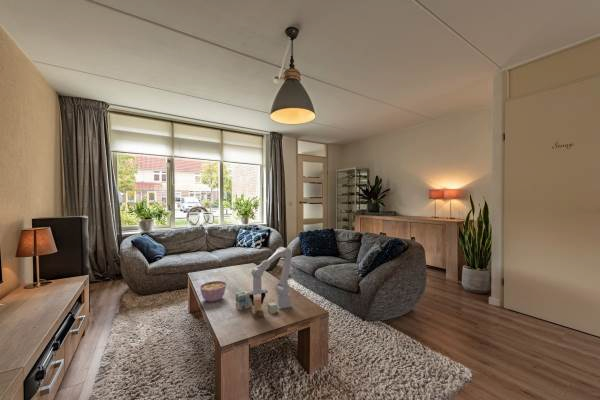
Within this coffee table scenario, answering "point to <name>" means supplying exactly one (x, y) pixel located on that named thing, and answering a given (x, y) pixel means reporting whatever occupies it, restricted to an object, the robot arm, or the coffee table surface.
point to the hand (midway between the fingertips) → (257, 304)
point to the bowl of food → (213, 290)
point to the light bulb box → (243, 300)
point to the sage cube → (272, 307)
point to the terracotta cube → (257, 302)
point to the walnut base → (257, 312)
